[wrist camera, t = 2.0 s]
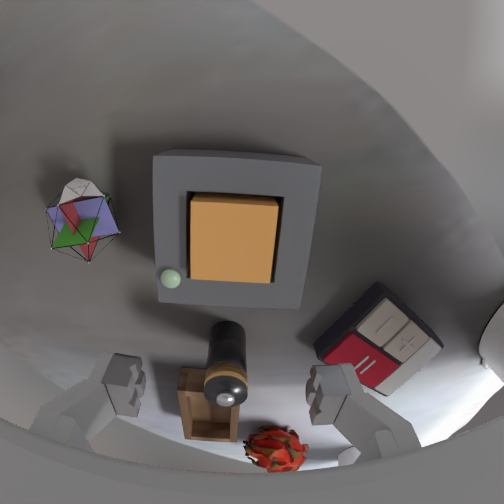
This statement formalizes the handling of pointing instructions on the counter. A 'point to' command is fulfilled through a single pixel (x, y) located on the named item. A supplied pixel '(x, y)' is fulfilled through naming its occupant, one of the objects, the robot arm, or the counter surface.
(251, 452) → the dragon fruit
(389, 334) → the calculator
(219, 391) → the battery cell
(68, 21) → the counter surface
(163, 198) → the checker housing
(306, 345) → the counter surface
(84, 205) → the geometric puzzle
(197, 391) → the box
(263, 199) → the button
